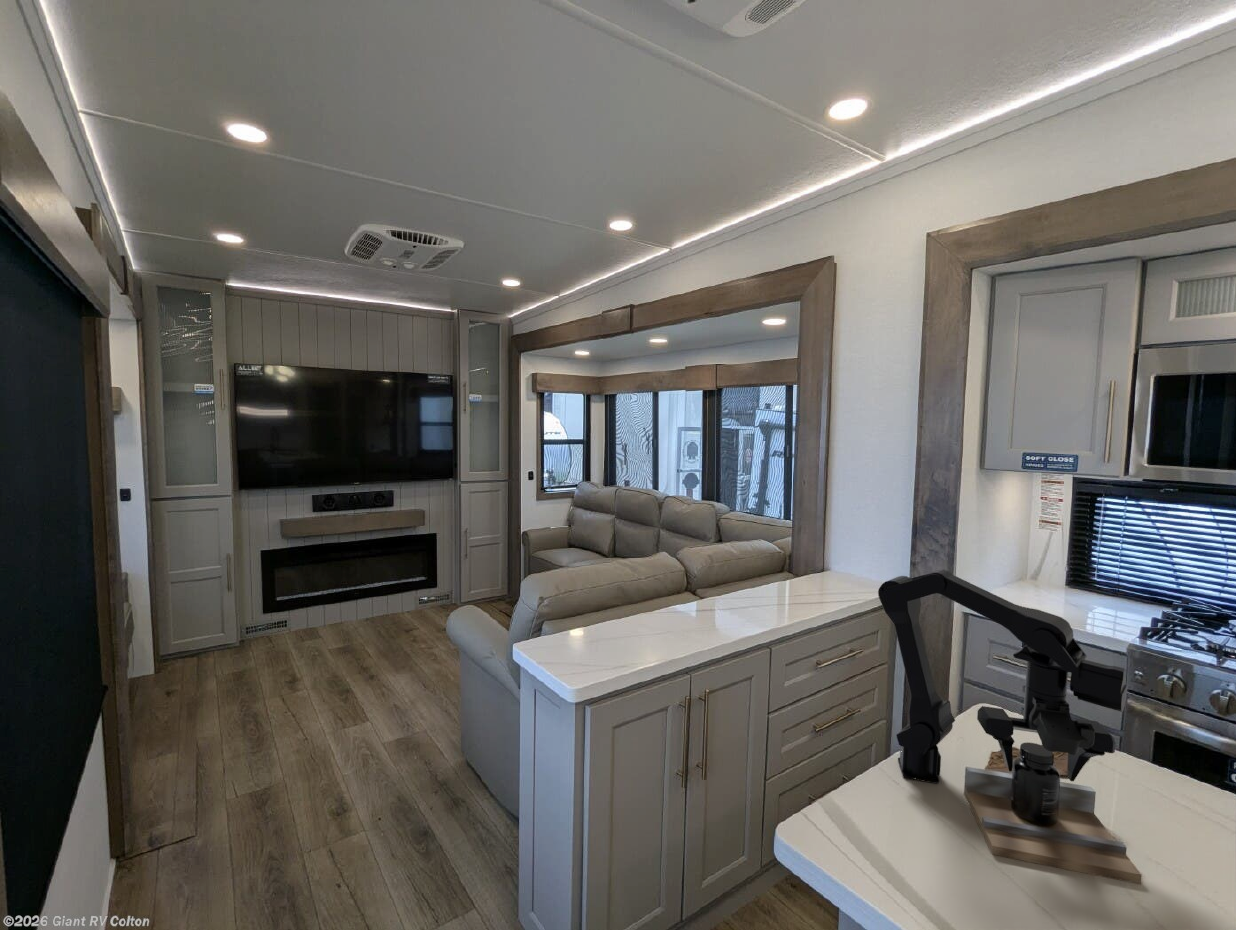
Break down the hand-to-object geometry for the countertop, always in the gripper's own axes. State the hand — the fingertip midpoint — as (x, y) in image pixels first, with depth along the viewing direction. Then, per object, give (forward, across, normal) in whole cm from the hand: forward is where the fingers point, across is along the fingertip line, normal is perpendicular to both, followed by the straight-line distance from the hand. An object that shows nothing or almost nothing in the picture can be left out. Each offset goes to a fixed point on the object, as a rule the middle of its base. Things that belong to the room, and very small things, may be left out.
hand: (1039, 774), depth 100 cm
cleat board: (+9, 0, -3) cm, 9 cm away
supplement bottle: (+8, 0, 0) cm, 8 cm away
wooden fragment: (+10, +7, +21) cm, 24 cm away
